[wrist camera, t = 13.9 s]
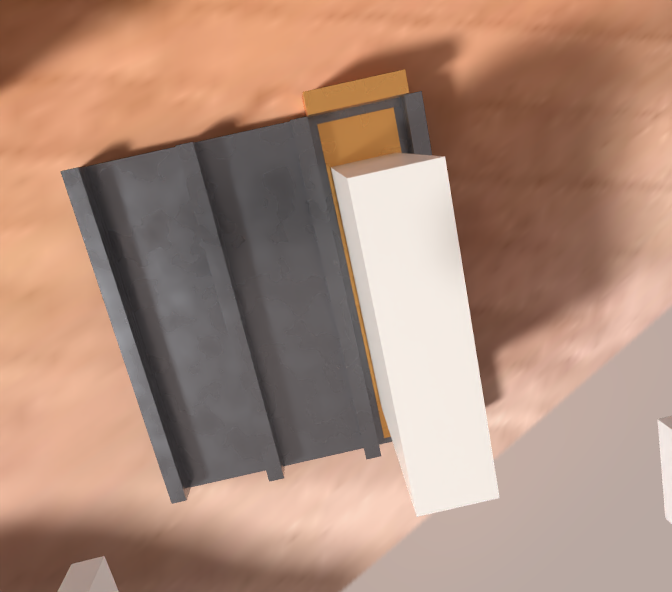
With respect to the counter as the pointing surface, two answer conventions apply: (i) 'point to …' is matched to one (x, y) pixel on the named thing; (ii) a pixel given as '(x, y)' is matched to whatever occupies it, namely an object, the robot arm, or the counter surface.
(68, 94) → the counter surface
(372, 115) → the floor rack
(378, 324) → the long white block
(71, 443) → the counter surface
